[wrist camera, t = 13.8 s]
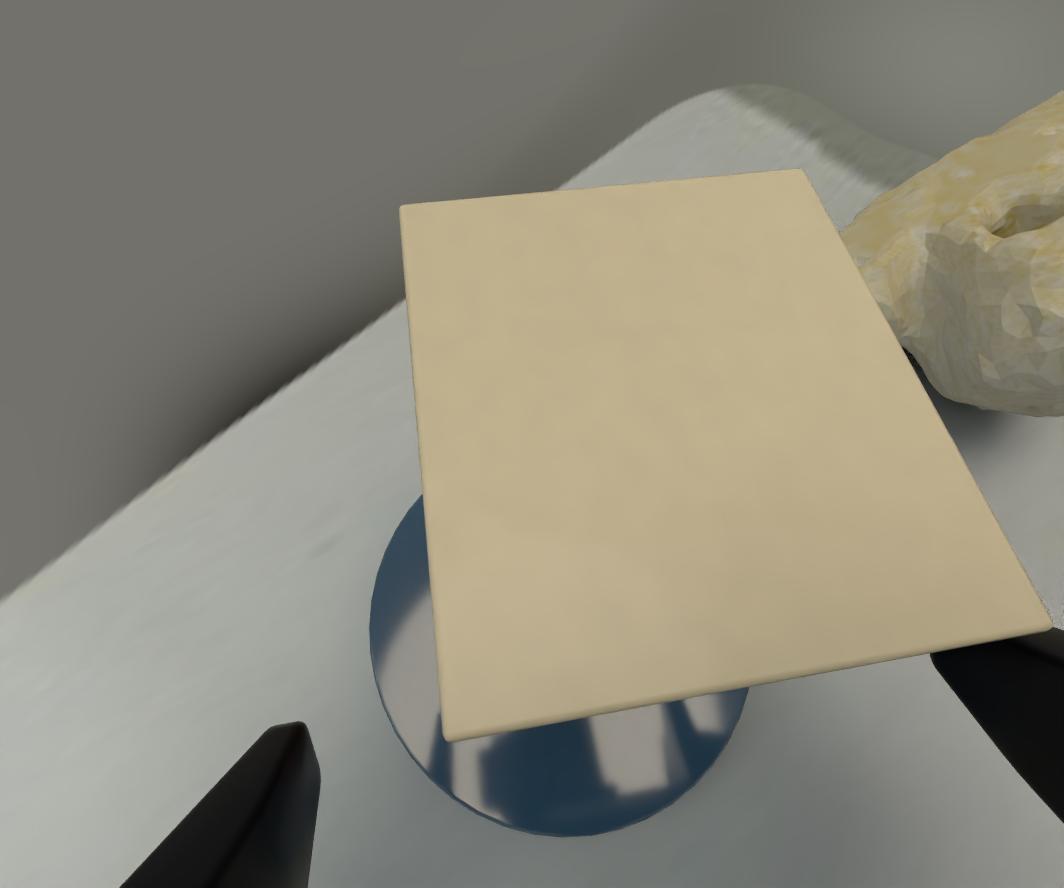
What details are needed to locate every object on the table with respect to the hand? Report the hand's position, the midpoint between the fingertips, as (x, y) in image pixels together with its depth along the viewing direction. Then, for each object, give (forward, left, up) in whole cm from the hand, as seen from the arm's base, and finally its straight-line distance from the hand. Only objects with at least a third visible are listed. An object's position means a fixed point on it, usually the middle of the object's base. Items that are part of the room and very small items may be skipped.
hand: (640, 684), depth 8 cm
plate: (+2, +2, -9) cm, 9 cm away
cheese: (+22, -5, -9) cm, 24 cm away
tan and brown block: (+2, +2, -8) cm, 8 cm away
